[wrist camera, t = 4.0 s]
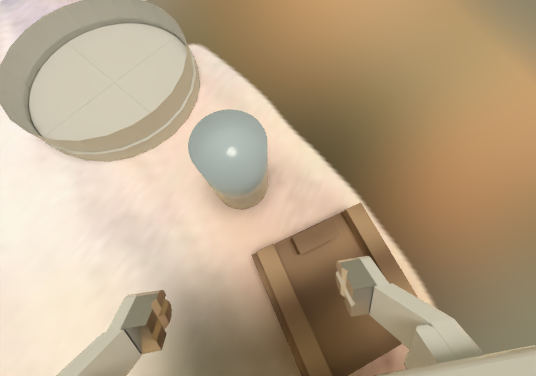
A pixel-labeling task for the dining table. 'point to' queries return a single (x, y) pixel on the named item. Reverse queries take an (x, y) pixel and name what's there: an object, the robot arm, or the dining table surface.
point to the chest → (327, 293)
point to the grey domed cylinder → (231, 156)
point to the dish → (101, 79)
